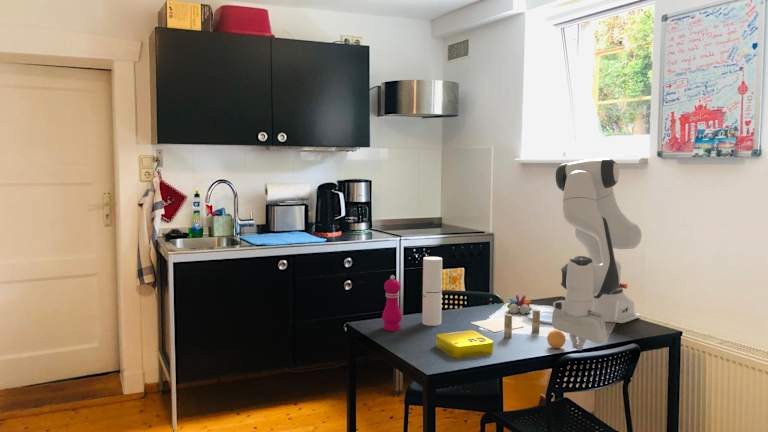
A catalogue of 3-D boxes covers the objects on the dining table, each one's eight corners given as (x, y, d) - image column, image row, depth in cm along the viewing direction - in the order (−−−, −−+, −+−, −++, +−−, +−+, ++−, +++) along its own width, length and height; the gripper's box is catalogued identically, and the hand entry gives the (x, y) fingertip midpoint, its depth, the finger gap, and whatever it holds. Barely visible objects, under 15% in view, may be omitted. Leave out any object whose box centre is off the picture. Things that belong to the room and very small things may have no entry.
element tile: (472, 341, 233) (472, 328, 232) (495, 354, 219) (495, 340, 218) (433, 346, 227) (434, 332, 227) (454, 360, 213) (455, 345, 213)
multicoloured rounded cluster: (531, 315, 266) (532, 297, 265) (506, 314, 268) (507, 296, 267) (531, 310, 274) (531, 293, 273) (507, 309, 276) (507, 291, 275)
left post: (508, 335, 238) (508, 313, 237) (513, 337, 236) (513, 315, 235) (502, 336, 237) (503, 314, 236) (507, 338, 235) (507, 316, 234)
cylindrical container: (435, 326, 249) (436, 260, 246) (418, 323, 253) (419, 258, 250) (444, 322, 255) (445, 257, 252) (427, 319, 259) (428, 255, 256)
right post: (535, 330, 245) (536, 309, 244) (540, 332, 242) (541, 311, 241) (530, 331, 243) (531, 310, 242) (535, 333, 241) (536, 311, 240)
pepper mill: (389, 332, 241) (390, 278, 239) (378, 327, 247) (378, 274, 245) (405, 329, 245) (406, 275, 243) (393, 324, 251) (394, 272, 249)
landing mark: (499, 318, 261) (499, 317, 261) (523, 327, 249) (523, 326, 249) (470, 323, 254) (470, 322, 254) (494, 332, 242) (494, 331, 242)
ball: (556, 344, 229) (556, 327, 228) (569, 348, 224) (569, 331, 223) (543, 346, 226) (543, 329, 225) (555, 351, 221) (556, 334, 220)
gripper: (611, 313, 208) (609, 356, 209) (563, 299, 225) (561, 339, 227) (597, 316, 204) (595, 359, 206) (549, 301, 222) (548, 342, 224)
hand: (577, 348), depth 217 cm, fingers closed
